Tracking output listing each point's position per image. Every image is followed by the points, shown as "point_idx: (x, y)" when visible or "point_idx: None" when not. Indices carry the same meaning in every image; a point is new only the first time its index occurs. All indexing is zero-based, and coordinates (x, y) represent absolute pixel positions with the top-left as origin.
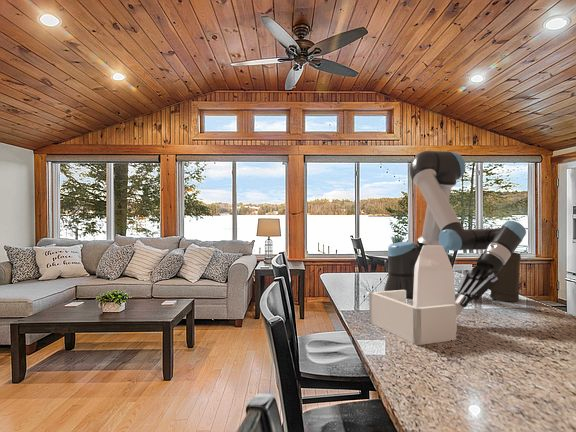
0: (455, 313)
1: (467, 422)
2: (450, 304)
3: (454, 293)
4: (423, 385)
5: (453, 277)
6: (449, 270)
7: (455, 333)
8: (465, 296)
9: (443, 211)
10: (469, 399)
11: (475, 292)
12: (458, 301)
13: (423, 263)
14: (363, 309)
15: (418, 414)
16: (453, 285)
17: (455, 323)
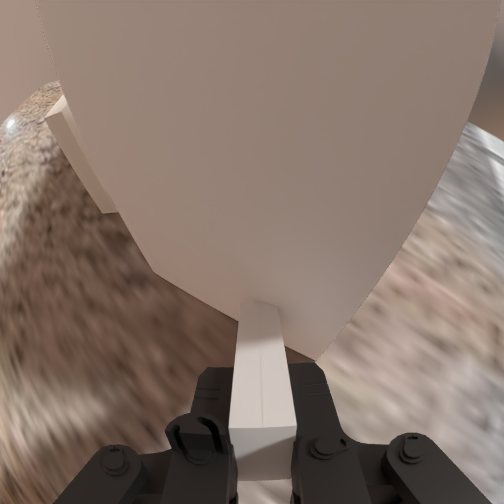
0: (60, 143)
1: (12, 114)
2: (64, 105)
3: (76, 117)
4: (55, 99)
5: (40, 2)
6: None
7: (93, 196)
8: (232, 446)
9: None
10: (15, 125)
11: (75, 480)
12: (251, 357)
13: None
14: (496, 167)
15: (42, 91)
16: (60, 59)
17: (77, 172)
